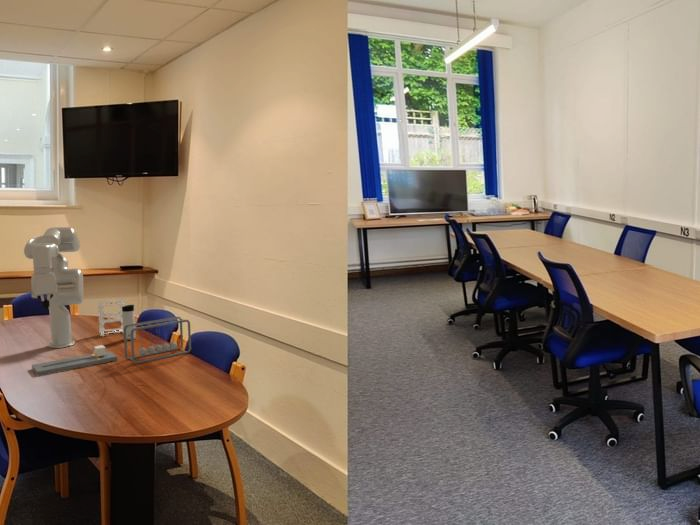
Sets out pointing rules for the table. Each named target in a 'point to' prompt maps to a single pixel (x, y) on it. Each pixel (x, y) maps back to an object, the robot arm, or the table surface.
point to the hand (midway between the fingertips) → (45, 308)
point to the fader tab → (99, 350)
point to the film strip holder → (102, 321)
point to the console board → (72, 363)
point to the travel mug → (128, 320)
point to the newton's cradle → (158, 347)
